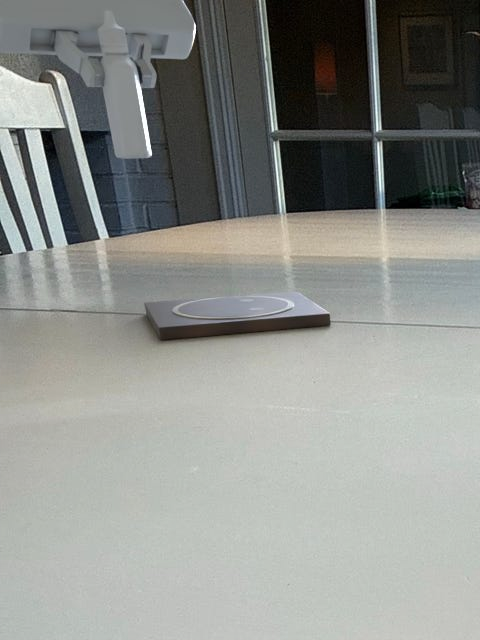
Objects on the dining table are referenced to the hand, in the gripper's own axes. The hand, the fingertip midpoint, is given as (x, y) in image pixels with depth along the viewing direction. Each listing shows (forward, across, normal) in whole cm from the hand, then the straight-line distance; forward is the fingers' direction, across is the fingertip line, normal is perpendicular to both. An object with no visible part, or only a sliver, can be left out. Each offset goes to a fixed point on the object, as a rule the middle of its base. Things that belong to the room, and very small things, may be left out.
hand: (123, 82), depth 86 cm
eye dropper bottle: (+4, 0, +5) cm, 7 cm away
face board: (+28, -4, -3) cm, 29 cm away
